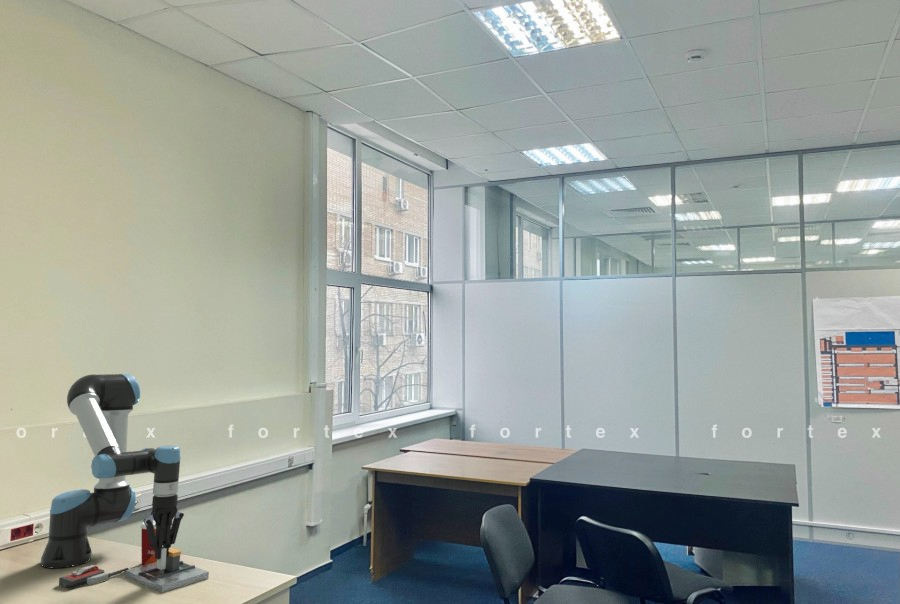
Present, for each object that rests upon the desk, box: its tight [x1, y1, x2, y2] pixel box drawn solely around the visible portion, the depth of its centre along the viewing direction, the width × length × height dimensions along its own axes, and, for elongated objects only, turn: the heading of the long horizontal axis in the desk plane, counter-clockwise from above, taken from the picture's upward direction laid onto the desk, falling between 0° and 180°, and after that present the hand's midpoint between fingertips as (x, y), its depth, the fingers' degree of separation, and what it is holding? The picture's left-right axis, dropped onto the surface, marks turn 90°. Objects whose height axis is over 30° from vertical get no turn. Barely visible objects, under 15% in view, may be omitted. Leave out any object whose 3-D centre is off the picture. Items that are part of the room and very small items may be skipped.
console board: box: [124, 560, 210, 594], centre depth 203 cm, size 22×16×3 cm
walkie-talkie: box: [58, 564, 130, 590], centre depth 200 cm, size 9×4×20 cm
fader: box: [165, 547, 182, 571], centre depth 205 cm, size 5×3×6 cm, turn 55°
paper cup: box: [140, 520, 157, 566], centre depth 217 cm, size 8×8×14 cm
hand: (161, 568), depth 202 cm, fingers closed
